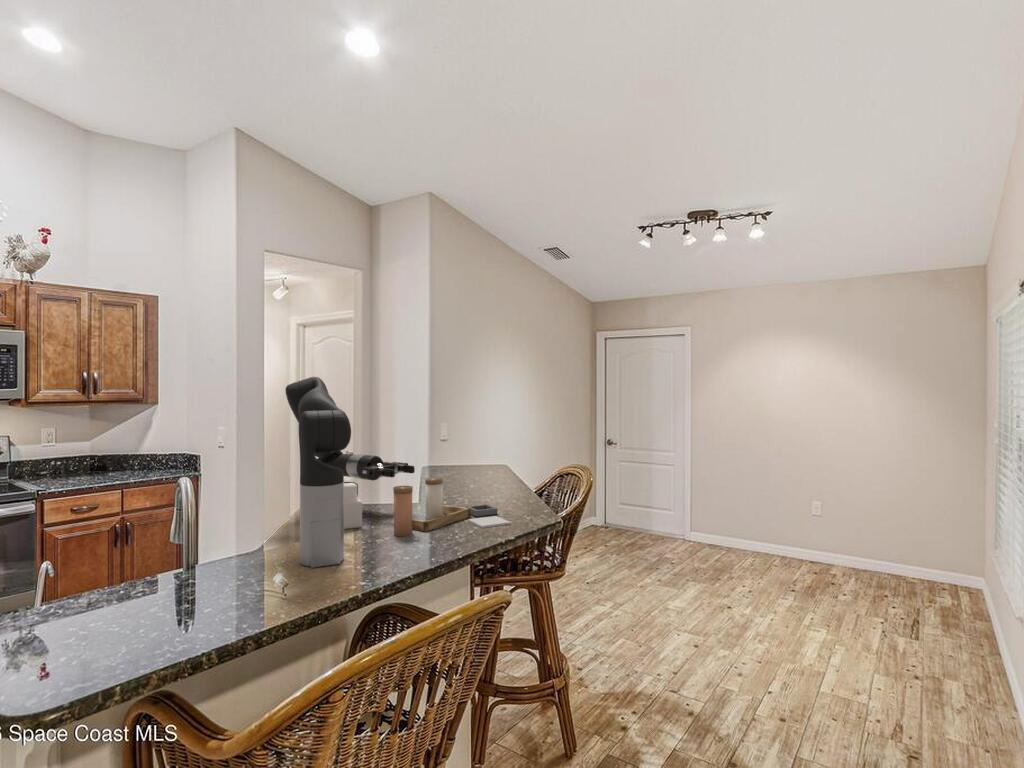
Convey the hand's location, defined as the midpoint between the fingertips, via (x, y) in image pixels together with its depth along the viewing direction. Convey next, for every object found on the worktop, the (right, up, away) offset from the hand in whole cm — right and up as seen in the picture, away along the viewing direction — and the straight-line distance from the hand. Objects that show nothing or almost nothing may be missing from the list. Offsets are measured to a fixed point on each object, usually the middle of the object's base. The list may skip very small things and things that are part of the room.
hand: (404, 471), depth 171 cm
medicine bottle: (-14, -14, -11) cm, 22 cm away
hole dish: (+23, -13, +3) cm, 27 cm away
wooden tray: (+10, -13, -6) cm, 18 cm away
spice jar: (+10, -13, -6) cm, 18 cm away
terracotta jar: (+3, -13, -20) cm, 24 cm away
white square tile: (+25, -13, -8) cm, 30 cm away
